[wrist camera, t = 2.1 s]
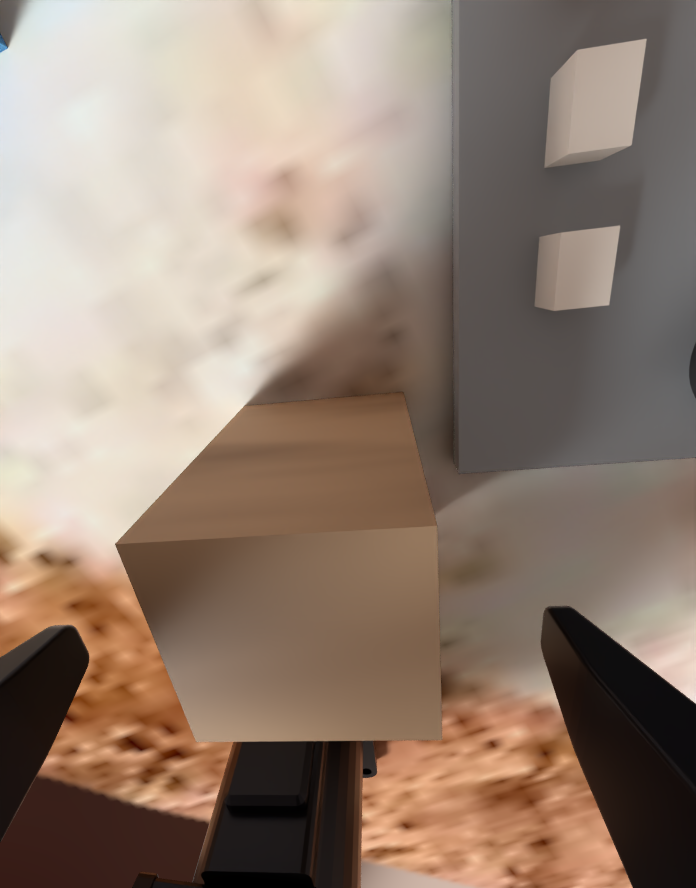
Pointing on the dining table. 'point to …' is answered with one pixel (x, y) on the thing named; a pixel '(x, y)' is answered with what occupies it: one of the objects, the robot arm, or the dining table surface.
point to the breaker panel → (573, 232)
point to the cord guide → (693, 371)
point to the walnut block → (298, 577)
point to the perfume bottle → (2, 44)
